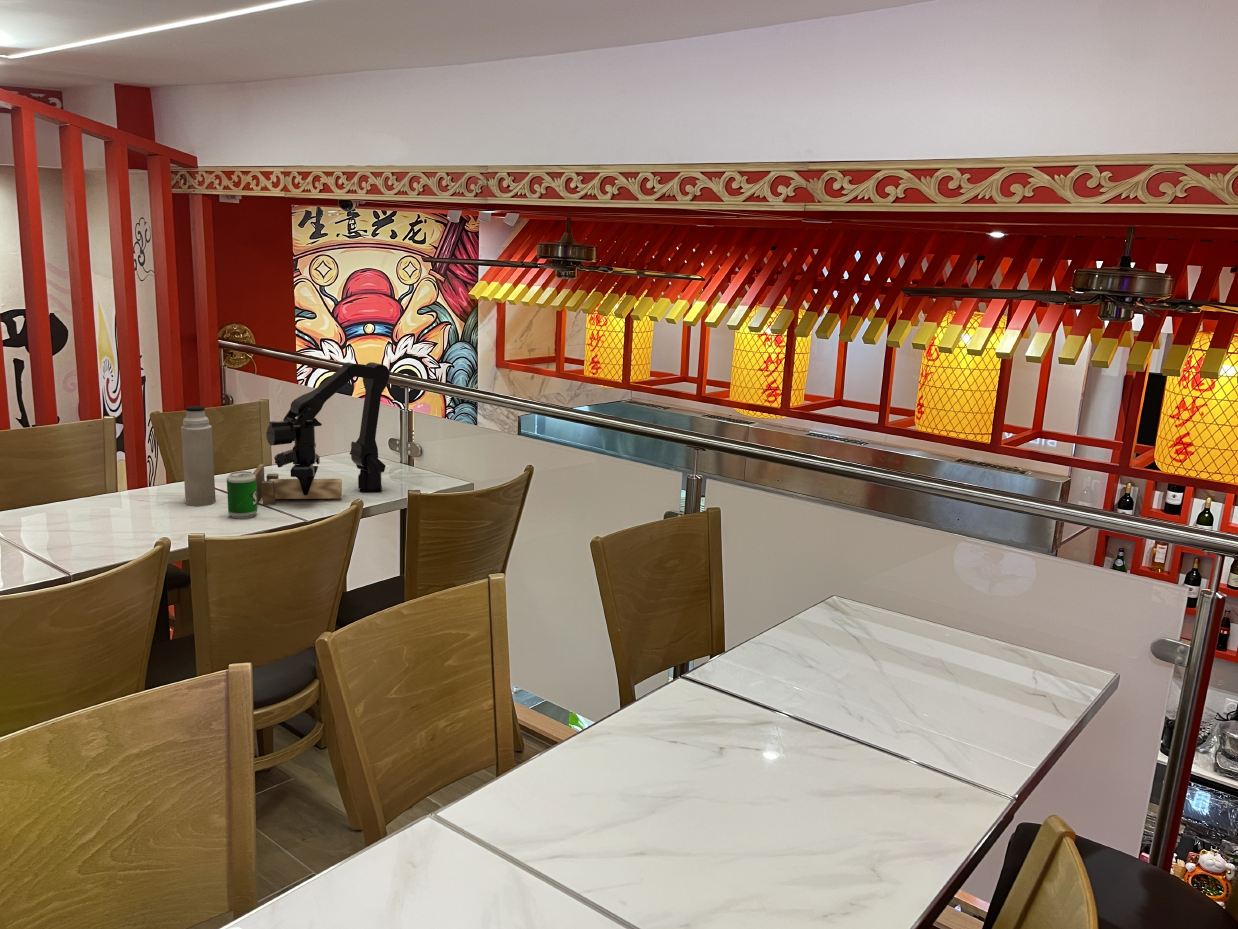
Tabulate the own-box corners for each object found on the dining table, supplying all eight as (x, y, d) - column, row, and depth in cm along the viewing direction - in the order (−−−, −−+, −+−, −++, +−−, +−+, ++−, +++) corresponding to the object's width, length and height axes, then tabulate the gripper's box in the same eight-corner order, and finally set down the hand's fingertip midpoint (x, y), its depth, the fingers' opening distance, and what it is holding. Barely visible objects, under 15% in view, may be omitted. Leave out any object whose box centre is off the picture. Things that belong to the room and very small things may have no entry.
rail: (341, 494, 285) (341, 478, 284) (340, 498, 281) (340, 481, 280) (269, 495, 281) (269, 479, 280) (267, 499, 277) (267, 482, 276)
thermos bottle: (201, 497, 279) (196, 403, 272) (221, 501, 275) (216, 406, 269) (179, 503, 271) (173, 407, 265) (199, 507, 268) (193, 410, 262)
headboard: (280, 492, 287) (279, 464, 285) (272, 507, 272) (270, 476, 270) (260, 493, 286) (259, 464, 284) (251, 507, 271) (250, 477, 269)
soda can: (251, 520, 259) (249, 477, 256) (223, 518, 259) (221, 476, 256) (261, 512, 266) (260, 471, 264) (235, 511, 267) (233, 469, 264)
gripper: (280, 435, 284) (282, 485, 288) (270, 448, 267) (273, 502, 270) (319, 435, 287) (320, 485, 290) (312, 448, 269) (313, 501, 272)
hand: (306, 493), depth 281 cm, fingers closed on rail, 4 cm apart
